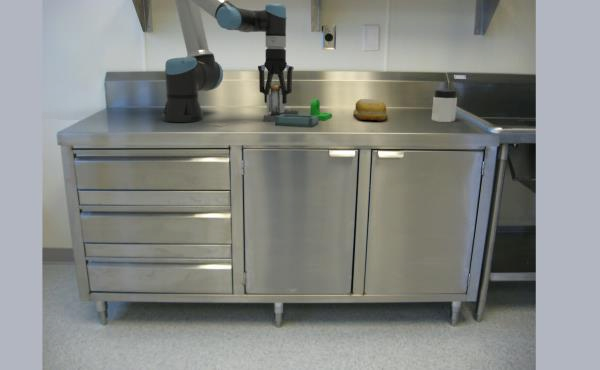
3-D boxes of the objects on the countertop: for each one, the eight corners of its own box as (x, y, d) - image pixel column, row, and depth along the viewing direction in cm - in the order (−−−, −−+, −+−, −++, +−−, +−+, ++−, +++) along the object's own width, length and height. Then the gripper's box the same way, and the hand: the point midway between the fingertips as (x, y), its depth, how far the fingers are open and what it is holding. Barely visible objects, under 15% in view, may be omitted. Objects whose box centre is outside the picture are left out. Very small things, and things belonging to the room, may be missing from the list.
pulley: (272, 117, 198) (272, 107, 197) (279, 115, 207) (279, 105, 206) (294, 118, 196) (294, 108, 195) (300, 116, 204) (300, 106, 203)
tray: (275, 125, 176) (275, 116, 176) (283, 122, 185) (283, 114, 184) (312, 127, 173) (312, 118, 172) (318, 123, 182) (318, 115, 181)
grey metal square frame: (263, 121, 188) (263, 115, 187) (269, 119, 194) (269, 113, 194) (281, 121, 186) (281, 116, 186) (286, 119, 193) (286, 114, 192)
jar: (458, 122, 193) (461, 91, 190) (441, 123, 190) (444, 91, 187) (445, 119, 201) (447, 89, 198) (427, 120, 198) (430, 89, 195)
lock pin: (268, 120, 189) (268, 85, 186) (271, 119, 193) (271, 85, 190) (279, 121, 188) (279, 86, 184) (282, 120, 192) (282, 85, 189)
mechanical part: (325, 121, 192) (325, 100, 190) (310, 120, 194) (310, 99, 192) (333, 118, 203) (334, 98, 201) (319, 117, 204) (320, 97, 203)
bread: (355, 122, 189) (356, 101, 187) (350, 115, 215) (351, 96, 213) (391, 123, 189) (392, 102, 187) (381, 115, 215) (383, 96, 213)
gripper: (249, 48, 182) (250, 112, 188) (295, 48, 178) (295, 114, 184) (256, 48, 189) (257, 110, 195) (301, 48, 185) (300, 112, 191)
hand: (275, 111), depth 189 cm, fingers open, 4 cm apart
